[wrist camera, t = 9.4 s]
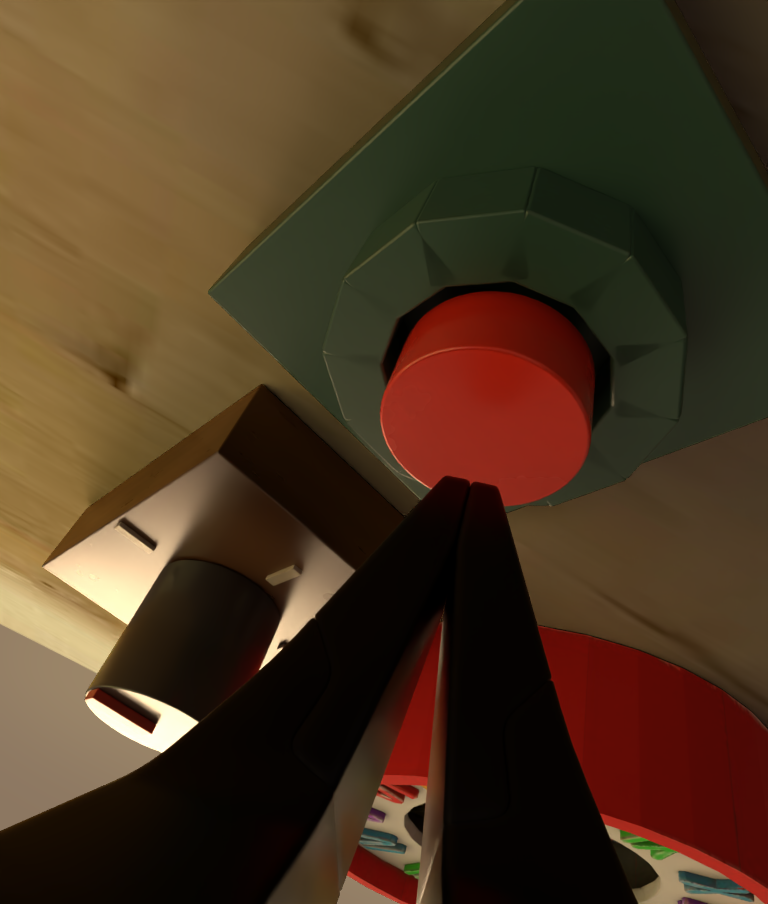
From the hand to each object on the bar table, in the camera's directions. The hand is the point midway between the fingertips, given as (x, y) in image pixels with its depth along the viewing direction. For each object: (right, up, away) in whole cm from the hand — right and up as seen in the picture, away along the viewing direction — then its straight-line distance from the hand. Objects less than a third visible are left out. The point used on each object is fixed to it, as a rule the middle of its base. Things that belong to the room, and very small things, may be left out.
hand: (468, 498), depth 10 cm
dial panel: (-6, -2, +14) cm, 16 cm away
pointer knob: (-7, -4, +12) cm, 15 cm away
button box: (+2, +5, +5) cm, 7 cm away
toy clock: (+6, -13, +20) cm, 25 cm away
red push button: (+1, +2, +2) cm, 3 cm away
